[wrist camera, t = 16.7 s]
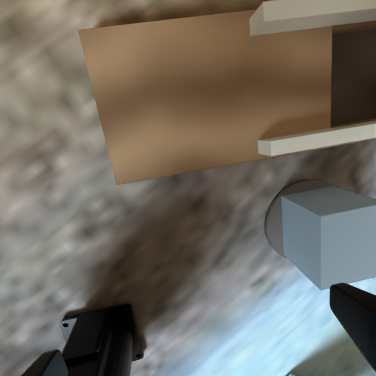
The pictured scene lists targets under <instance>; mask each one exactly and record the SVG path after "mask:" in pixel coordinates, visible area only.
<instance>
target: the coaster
mask: <svg viewBox="0 0 376 376" xmlns="http://www.w3.org/2000/svg"><path fill="white" fill-rule="evenodd" d="M330 186H332V185H330V184H328V183H325V182H322V181H318V180H302V181H299V182H296V183H293V184H291V185H289V186H288V187H286V188H285V189H283V190H282V191H281V192H280V193H279V194H278V195H277V196H276V197H275V198H274V200H273V201H272V203H271V204H270V206H269V208H268V211H267V213H266V217H265V234H266V237H267V239H268V242H269V243H270V245H271V246H272V247H273V248H274V249H275V250H276V251H277V252H278V253H279V254H280V255H282V256H284V257H286V256H285V255H284V245H283V224H282V203H281V196H284V195H289V194H294V193H300V192H305V191H310V190H315V189H320V188H325V187H330ZM286 258H287V257H286Z"/></svg>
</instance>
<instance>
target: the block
mask: <svg viewBox="0 0 376 376" xmlns="http://www.w3.org/2000/svg"><path fill="white" fill-rule="evenodd" d="M281 203H282V224H283V245H284V255H285V256H286V257H287V258H288V259H289V260H290V261H291V262H292V263H293V264H294V265H295V266H296V267H297V268H298V269H299V270H300V271H301V272H302V273H303V274H304V275H305V276H307V277H308V278H309V279H310V280H311V281H312V282H313V283H314V284H315V285H316V286H317V287H318V288H319V289H320V290H324V289H328V288H330V287H331V285H333V284H337V283H346V284H349V283H353V282H357V281H361V280H365V279H370V278H374V277H376V199H374V198H371V197H367V196H364V195H361V194H358V193H354V192H351V191H348V190H344V189H341V188H338V187H335V186H330V187H325V188H320V189H315V190H310V191H305V192H300V193H294V194H289V195H284V196H281Z"/></svg>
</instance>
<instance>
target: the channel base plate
mask: <svg viewBox="0 0 376 376" xmlns="http://www.w3.org/2000/svg"><path fill="white" fill-rule="evenodd" d="M256 10H257V9H256ZM256 10H247V11H238V12H230V13H221V14H212V15H204V16H195V17H186V18H178V19H169V20H160V21H152V22H143V23H134V24H126V25H117V26H108V27H100V28H91V29H82V30H78V32H79V36H80V40H81V44H82V48H83V52H84V56H85V60H86V64H87V68H88V72H89V76H90V80H91V84H92V88H93V92H94V96H95V100H96V104H97V108H98V112H99V116H100V120H101V124H102V129H103V133H104V137H105V141H106V145H107V149H108V153H109V157H110V161H111V165H112V169H113V173H114V177H115V181H116V185H120V184H126V183H132V182H137V181H143V180H149V179H154V178H160V177H165V176H171V175H177V174H182V173H188V172H194V171H199V170H205V169H211V168H216V167H222V166H227V165H233V164H239V163H244V162H250V161H256V160H261V159H267V158H273V157H278V156H284V155H290V154H295V153H301V152H306V151H312V150H318V149H323V148H329V147H335V146H340V145H346V144H352V143H357V142H363V141H368V140H374V139H376V138H371V139H366V140H360V141H354V142H349V143H343V144H337V145H332V146H326V147H320V148H315V149H309V150H304V151H298V152H292V153H287V154H281V155H275V156H268V155H263V154H258V140H263V139H269V138H275V137H281V136H287V135H293V134H299V133H305V132H311V131H317V130H322V129H328V128H334V127H340V126H346V125H352V124H358V123H364V122H370V121H376V20H374V21H366V22H359V23H351V24H343V25H335V26H327V27H319V28H311V29H303V30H295V31H287V32H279V33H271V34H263V35H255V36H250V23H249V19H250V18H251V16H252V15H253V14H254V12H255V11H256Z"/></svg>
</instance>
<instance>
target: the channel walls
mask: <svg viewBox="0 0 376 376" xmlns="http://www.w3.org/2000/svg"><path fill="white" fill-rule="evenodd" d="M374 20H376V0H274V1H265V2H262V4H261V5H260V6H259V7H258V9H257V10H256V11H255V12H254V14H253V15H252V16H251V18H250V19H249V23H250V36H255V35H263V34H271V33H279V32H287V31H295V30H303V29H311V28H319V27H327V26H335V25H343V24H351V23H359V22H366V21H374ZM371 138H376V121H370V122H364V123H358V124H352V125H346V126H340V127H334V128H328V129H322V130H317V131H311V132H305V133H299V134H293V135H287V136H281V137H275V138H269V139H263V140H258V154H263V155H268V156H275V155H281V154H287V153H292V152H298V151H304V150H309V149H315V148H320V147H326V146H332V145H337V144H343V143H349V142H354V141H360V140H366V139H371Z"/></svg>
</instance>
